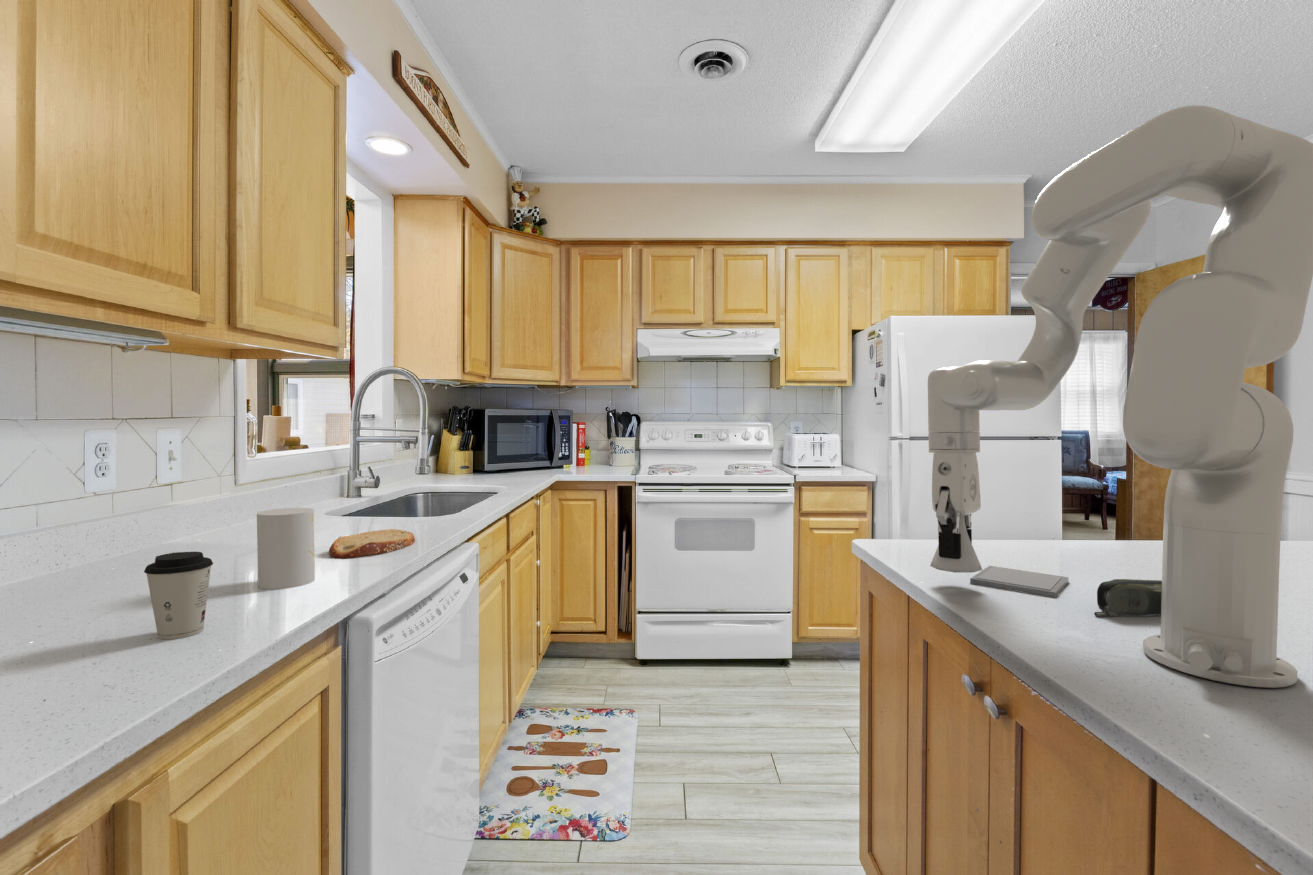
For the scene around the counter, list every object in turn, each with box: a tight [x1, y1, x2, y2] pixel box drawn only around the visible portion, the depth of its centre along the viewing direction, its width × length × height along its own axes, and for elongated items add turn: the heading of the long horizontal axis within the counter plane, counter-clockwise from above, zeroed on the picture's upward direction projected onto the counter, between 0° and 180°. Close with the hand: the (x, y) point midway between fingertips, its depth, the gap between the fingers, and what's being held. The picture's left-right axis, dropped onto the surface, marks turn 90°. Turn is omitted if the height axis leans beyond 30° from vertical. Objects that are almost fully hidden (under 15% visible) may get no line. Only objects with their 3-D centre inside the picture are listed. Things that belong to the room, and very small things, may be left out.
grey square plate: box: [969, 565, 1069, 598], centre depth 101 cm, size 12×12×1 cm
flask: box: [929, 510, 983, 574], centre depth 98 cm, size 7×7×10 cm
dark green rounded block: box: [1094, 578, 1162, 618], centre depth 85 cm, size 5×3×15 cm
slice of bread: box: [328, 528, 416, 560], centre depth 129 cm, size 18×18×4 cm
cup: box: [256, 507, 316, 590], centre depth 101 cm, size 8×8×12 cm
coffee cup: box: [143, 551, 214, 640], centre depth 77 cm, size 7×7×10 cm
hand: (955, 553), depth 98 cm, fingers closed on flask, 5 cm apart
